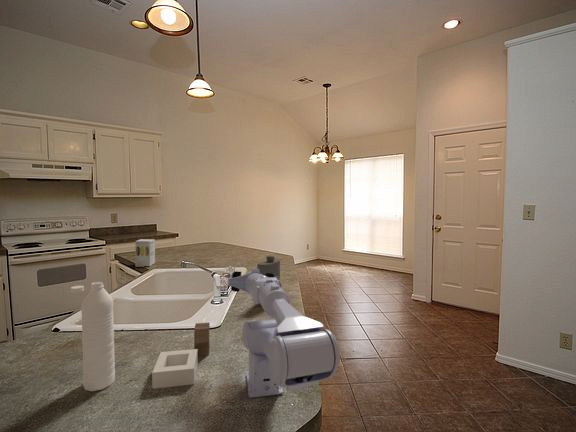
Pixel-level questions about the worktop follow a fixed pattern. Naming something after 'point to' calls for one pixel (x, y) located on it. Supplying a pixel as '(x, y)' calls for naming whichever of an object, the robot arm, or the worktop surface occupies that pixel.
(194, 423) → the worktop surface
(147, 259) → the supplement box
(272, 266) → the flask
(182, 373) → the ceramic well
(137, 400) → the worktop surface
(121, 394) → the worktop surface
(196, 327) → the walnut peg
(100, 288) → the water bottle
